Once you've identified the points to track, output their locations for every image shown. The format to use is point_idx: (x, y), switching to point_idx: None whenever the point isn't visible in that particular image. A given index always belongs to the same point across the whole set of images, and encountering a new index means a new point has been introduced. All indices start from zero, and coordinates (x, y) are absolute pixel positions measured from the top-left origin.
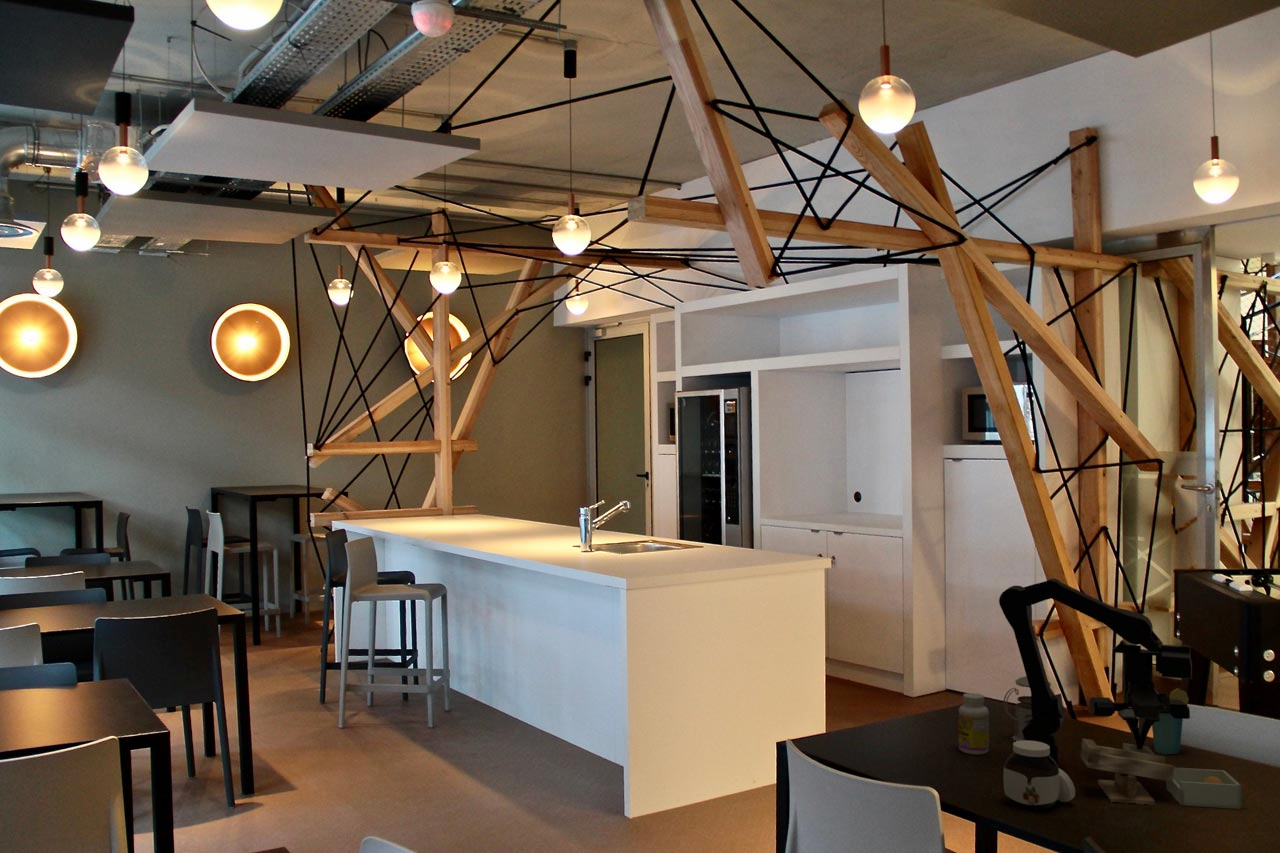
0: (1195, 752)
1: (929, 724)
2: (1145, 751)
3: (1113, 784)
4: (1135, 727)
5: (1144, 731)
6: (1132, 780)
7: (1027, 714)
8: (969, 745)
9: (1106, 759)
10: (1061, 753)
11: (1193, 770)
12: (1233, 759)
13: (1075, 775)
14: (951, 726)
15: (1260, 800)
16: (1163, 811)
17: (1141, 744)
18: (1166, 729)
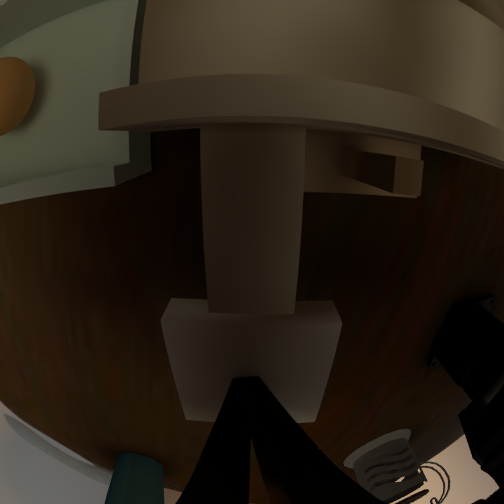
0: (94, 455)
1: (459, 430)
2: (218, 342)
3: (384, 138)
4: (326, 502)
5: (227, 484)
6: None
7: (419, 474)
8: None
9: None
10: (371, 419)
11: (7, 187)
12: (36, 425)
13: (433, 271)
14: (443, 438)
15: None
16: None
17: (240, 396)
18: (133, 498)
